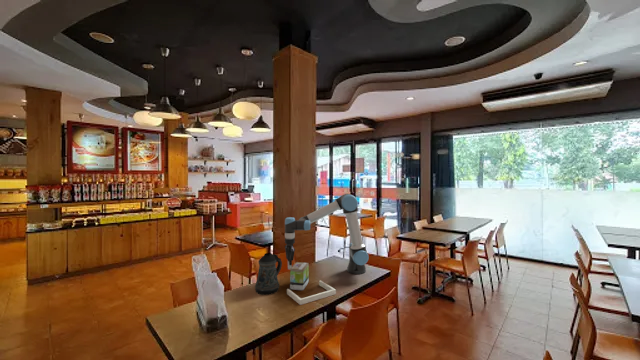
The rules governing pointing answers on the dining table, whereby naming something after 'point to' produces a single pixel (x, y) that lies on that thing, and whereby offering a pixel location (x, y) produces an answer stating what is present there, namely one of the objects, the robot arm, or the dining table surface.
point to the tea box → (299, 276)
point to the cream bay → (314, 297)
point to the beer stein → (268, 274)
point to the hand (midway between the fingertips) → (289, 268)
